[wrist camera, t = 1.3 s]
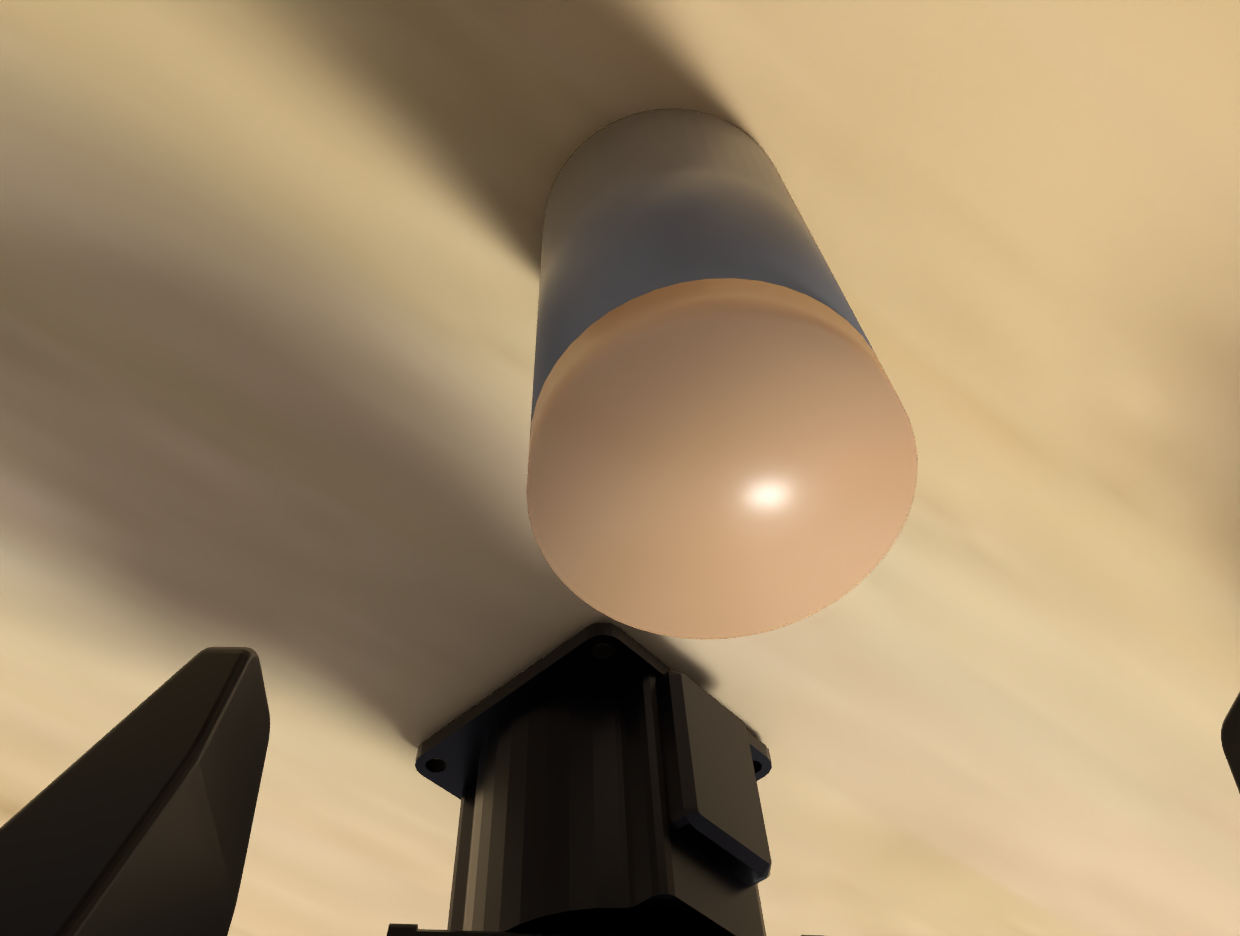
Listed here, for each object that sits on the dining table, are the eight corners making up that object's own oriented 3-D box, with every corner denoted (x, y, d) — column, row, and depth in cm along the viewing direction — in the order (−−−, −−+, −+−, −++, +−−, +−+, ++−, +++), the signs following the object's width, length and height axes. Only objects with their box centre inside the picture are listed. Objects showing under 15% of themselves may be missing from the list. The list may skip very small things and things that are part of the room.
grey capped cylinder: (653, 388, 20) (695, 691, 13) (491, 228, 18) (444, 488, 11) (838, 242, 18) (991, 502, 12) (682, 51, 16) (758, 231, 10)
